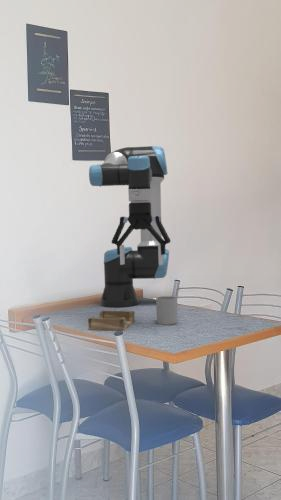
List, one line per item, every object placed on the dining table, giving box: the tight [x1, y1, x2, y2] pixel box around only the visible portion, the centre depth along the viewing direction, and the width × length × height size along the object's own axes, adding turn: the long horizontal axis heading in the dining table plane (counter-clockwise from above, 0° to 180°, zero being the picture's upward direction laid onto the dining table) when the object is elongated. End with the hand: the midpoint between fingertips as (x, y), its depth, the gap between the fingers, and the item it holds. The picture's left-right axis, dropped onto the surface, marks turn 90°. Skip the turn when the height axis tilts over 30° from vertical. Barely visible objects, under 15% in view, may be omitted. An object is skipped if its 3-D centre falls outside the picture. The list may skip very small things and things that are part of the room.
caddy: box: [87, 310, 135, 331], centre depth 224 cm, size 15×12×4 cm
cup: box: [155, 295, 178, 326], centre depth 227 cm, size 7×10×9 cm
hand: (141, 264), depth 221 cm, fingers open, 13 cm apart
